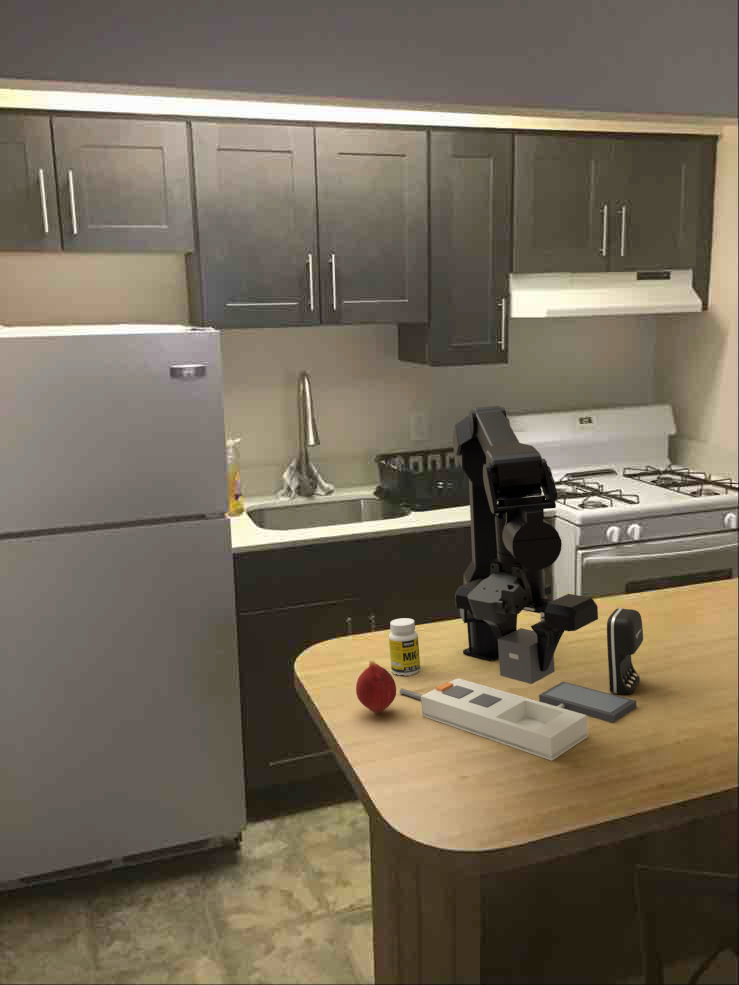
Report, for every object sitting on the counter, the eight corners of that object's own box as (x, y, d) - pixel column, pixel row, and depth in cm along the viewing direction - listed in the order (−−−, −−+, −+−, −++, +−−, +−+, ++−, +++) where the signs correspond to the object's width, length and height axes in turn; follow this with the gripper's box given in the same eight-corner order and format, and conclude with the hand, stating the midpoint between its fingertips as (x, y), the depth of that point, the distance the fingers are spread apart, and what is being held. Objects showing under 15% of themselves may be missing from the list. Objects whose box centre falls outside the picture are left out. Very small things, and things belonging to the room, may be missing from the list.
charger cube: (523, 663, 113) (521, 628, 112) (554, 671, 109) (552, 634, 108) (499, 675, 110) (497, 639, 109) (531, 684, 106) (529, 646, 105)
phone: (512, 716, 117) (511, 709, 117) (563, 687, 125) (562, 680, 125) (587, 740, 108) (587, 732, 108) (636, 707, 116) (636, 700, 116)
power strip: (381, 701, 126) (379, 680, 125) (418, 684, 131) (416, 663, 131) (551, 760, 104) (550, 734, 103) (587, 736, 109) (586, 712, 108)
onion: (403, 705, 124) (398, 654, 123) (391, 722, 118) (386, 669, 117) (366, 703, 126) (361, 652, 124) (352, 720, 120) (347, 667, 119)
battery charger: (635, 698, 119) (632, 621, 117) (608, 694, 121) (605, 618, 119) (646, 679, 125) (643, 606, 123) (620, 676, 127) (617, 604, 125)
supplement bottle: (405, 678, 134) (401, 628, 133) (385, 672, 138) (381, 623, 136) (426, 669, 137) (422, 620, 136) (406, 663, 141) (402, 615, 139)
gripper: (423, 555, 108) (432, 670, 111) (543, 575, 95) (551, 705, 97) (478, 537, 116) (485, 645, 118) (597, 552, 102) (603, 674, 104)
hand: (526, 666), depth 109 cm, fingers closed on charger cube, 5 cm apart
